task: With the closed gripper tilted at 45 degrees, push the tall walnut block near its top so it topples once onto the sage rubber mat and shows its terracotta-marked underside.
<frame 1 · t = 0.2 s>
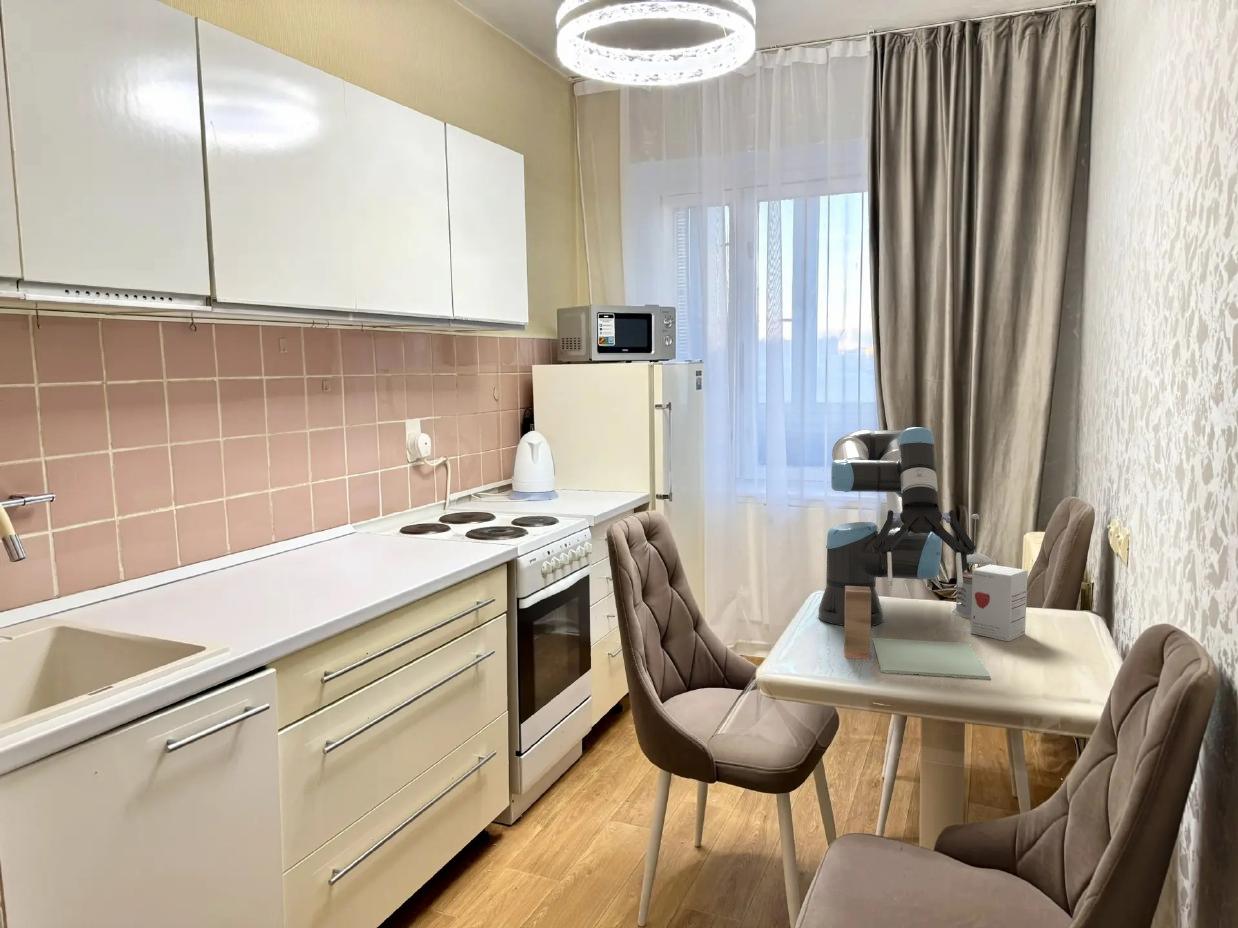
hand: (925, 584, 172), 15 cm above the table, tool tilted 35°, fingers open, 13 cm apart
supplement box: (997, 634, 190), on the table
french press: (974, 615, 207), on the table
walnut block: (856, 654, 176), on the table
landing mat: (927, 658, 173), on the table
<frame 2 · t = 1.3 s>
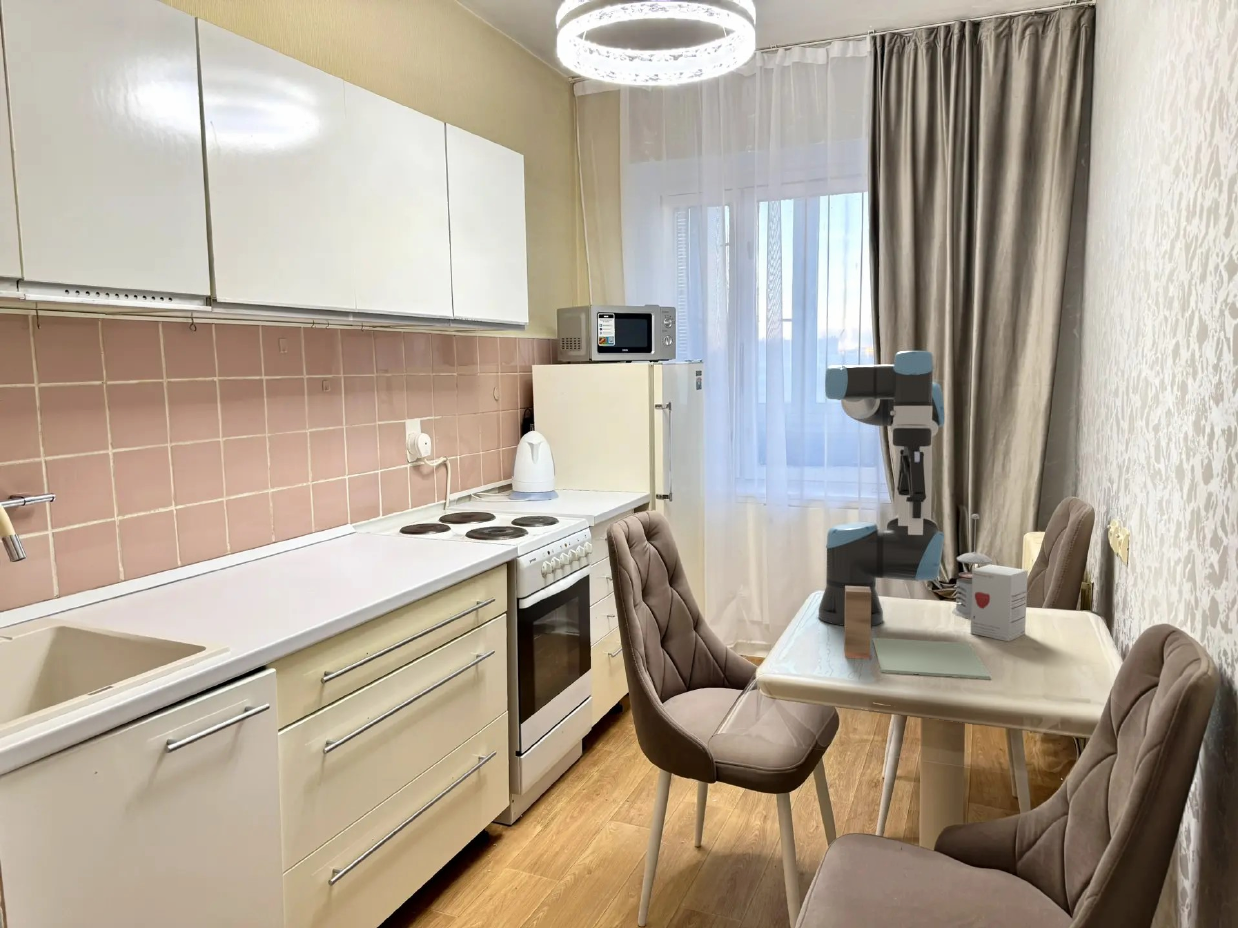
hand: (909, 530, 173), 26 cm above the table, tool pointing down, fingers open, 13 cm apart
nothing on the table moved.
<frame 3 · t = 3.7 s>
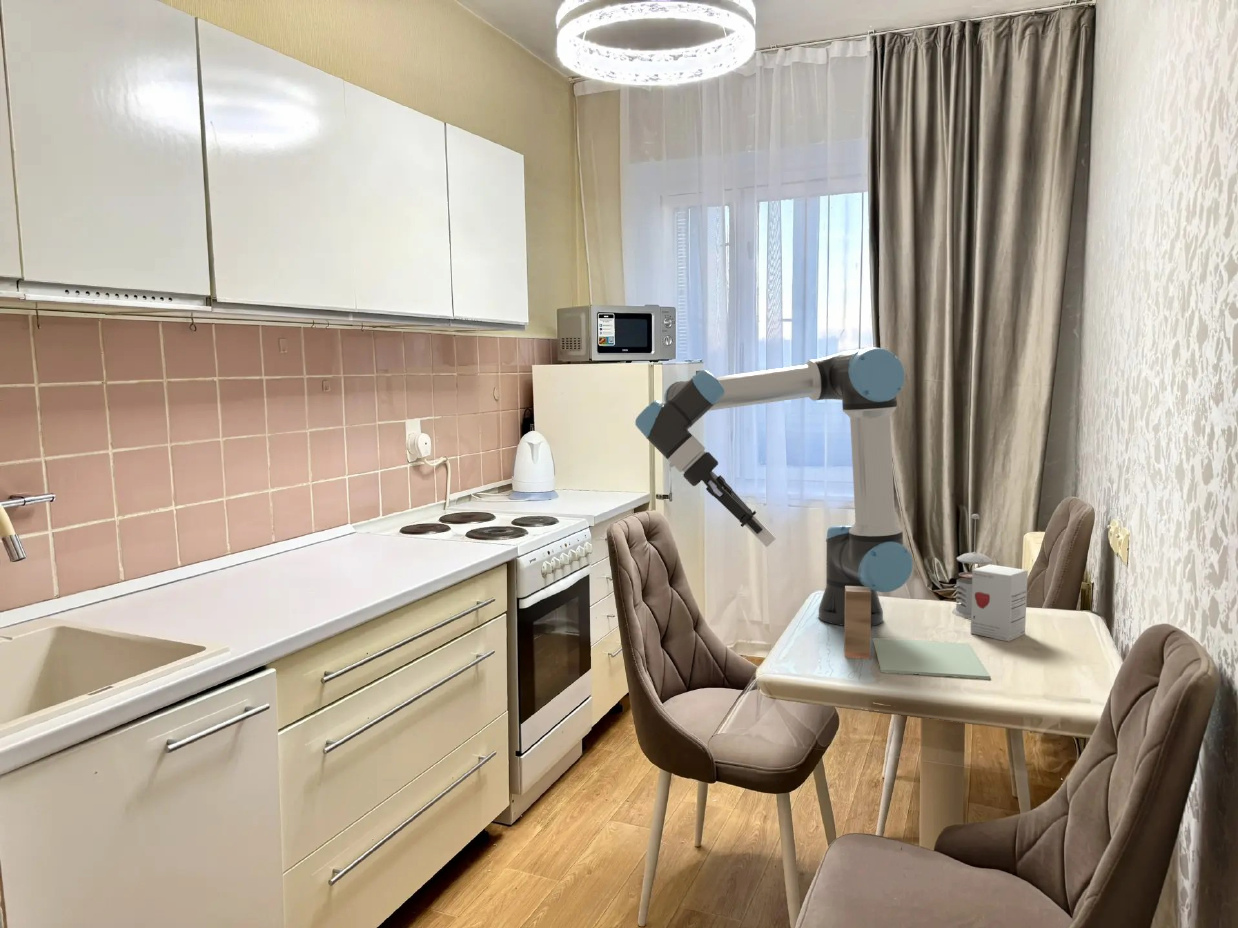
hand: (771, 542, 178), 23 cm above the table, tool tilted 45°, fingers closed
nothing on the table moved.
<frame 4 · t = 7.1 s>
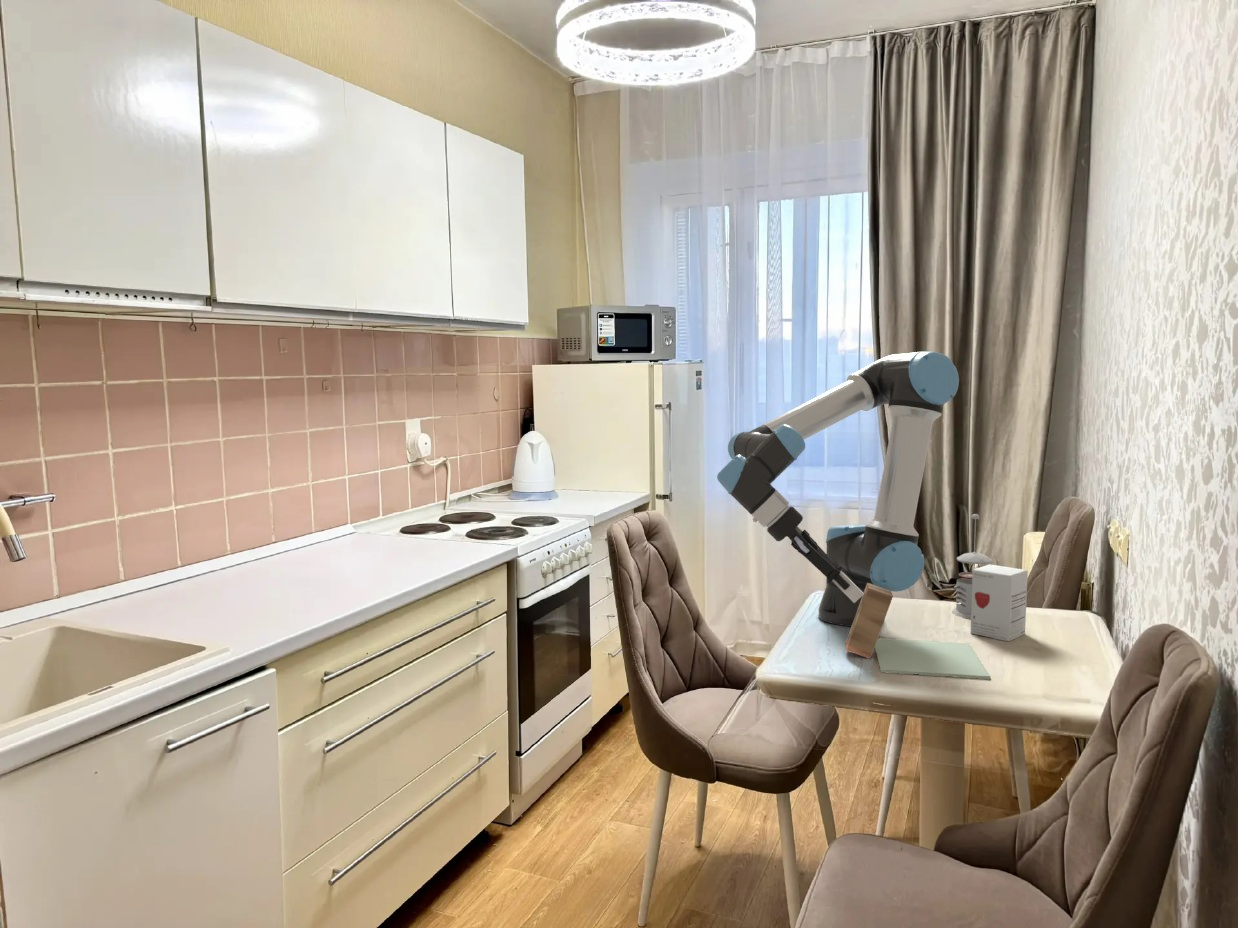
hand: (858, 597, 175), 12 cm above the table, tool tilted 45°, fingers closed
walnut block: (857, 650, 176), point 1 cm above the table, tilted 18°
everything else where it was.
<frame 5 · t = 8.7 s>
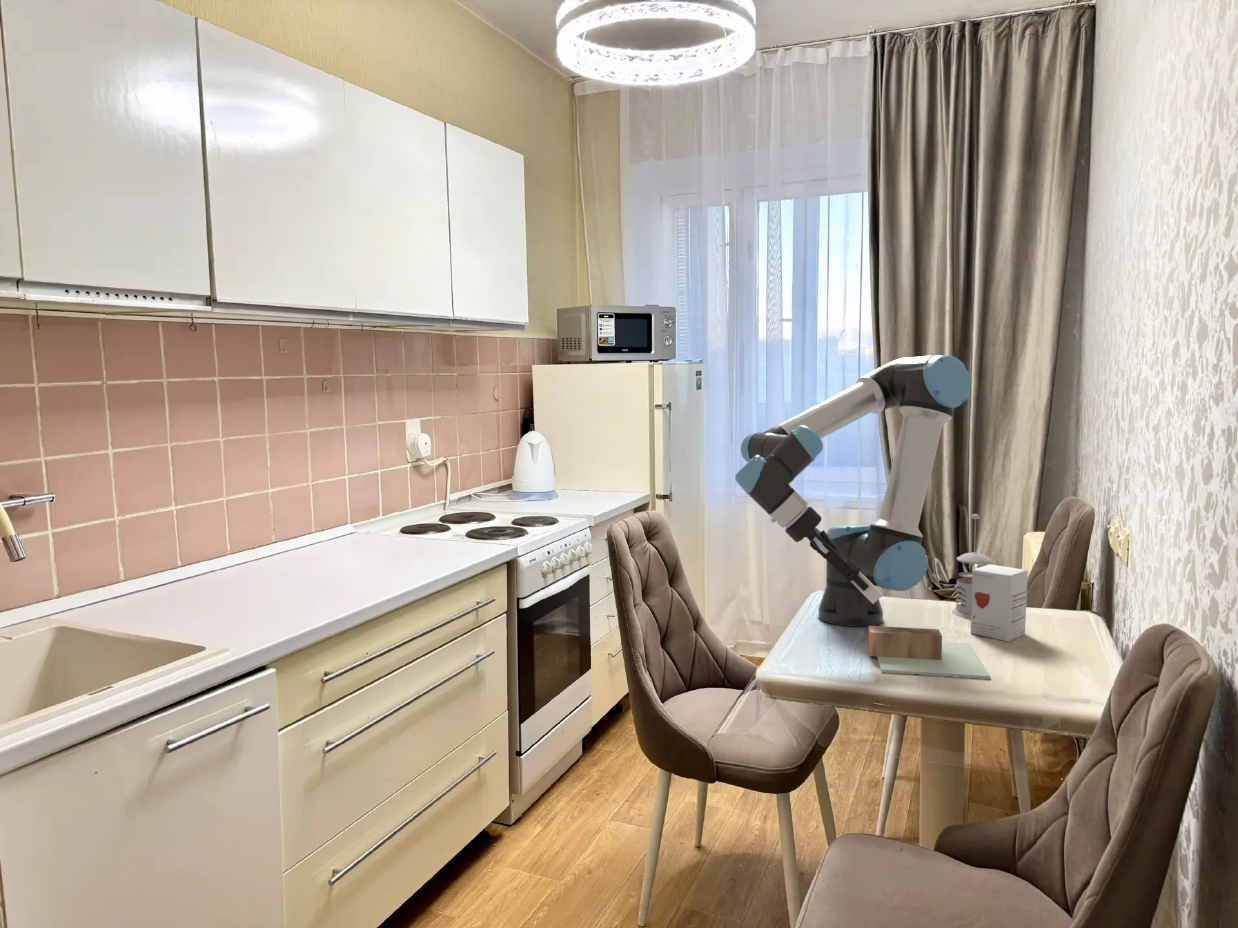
hand: (877, 598, 174), 12 cm above the table, tool tilted 45°, fingers closed
walnut block: (869, 640, 175), point 3 cm above the table, tilted 90°, touching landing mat
everything else where it was.
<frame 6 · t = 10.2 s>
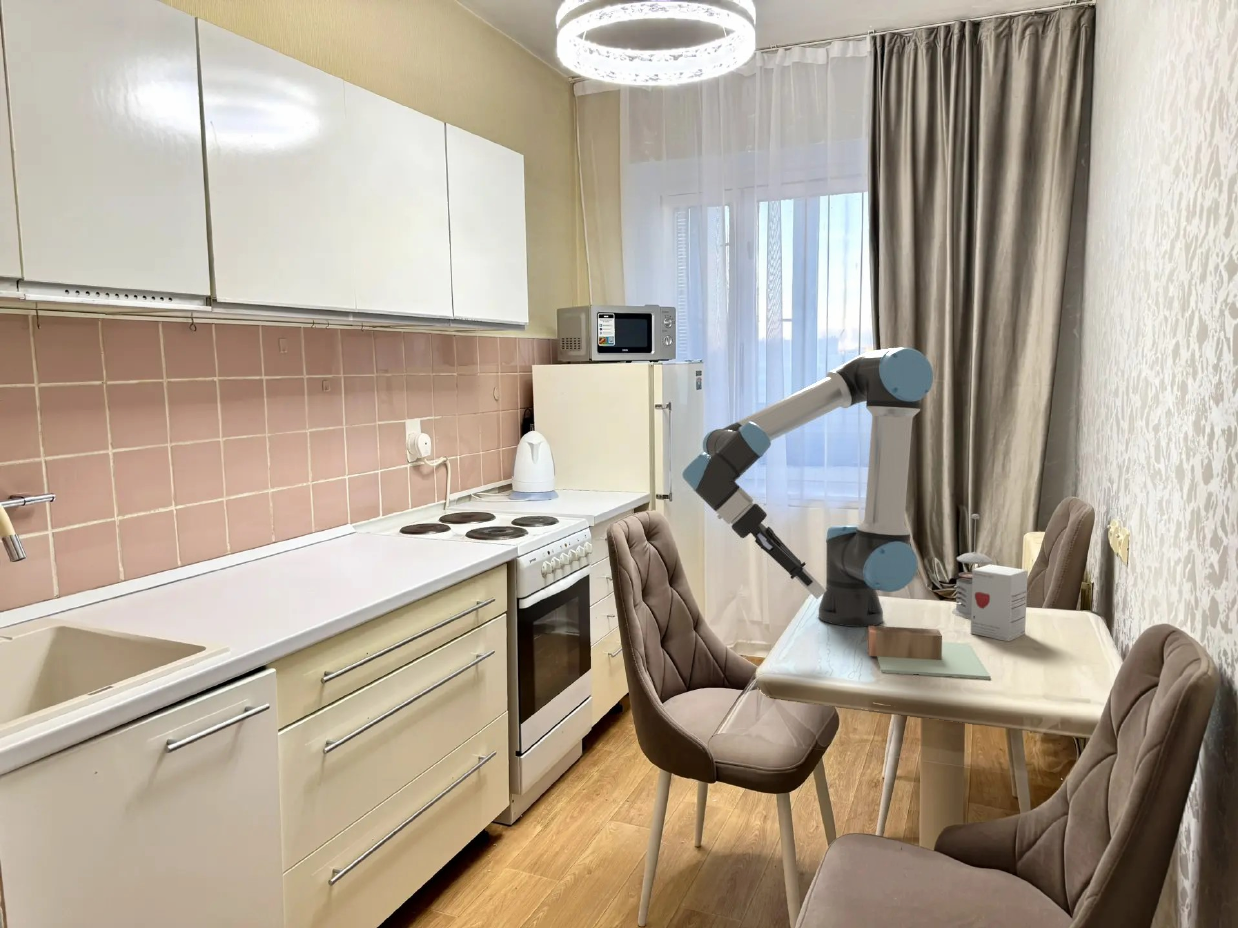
hand: (821, 594, 177), 13 cm above the table, tool tilted 45°, fingers closed
nothing on the table moved.
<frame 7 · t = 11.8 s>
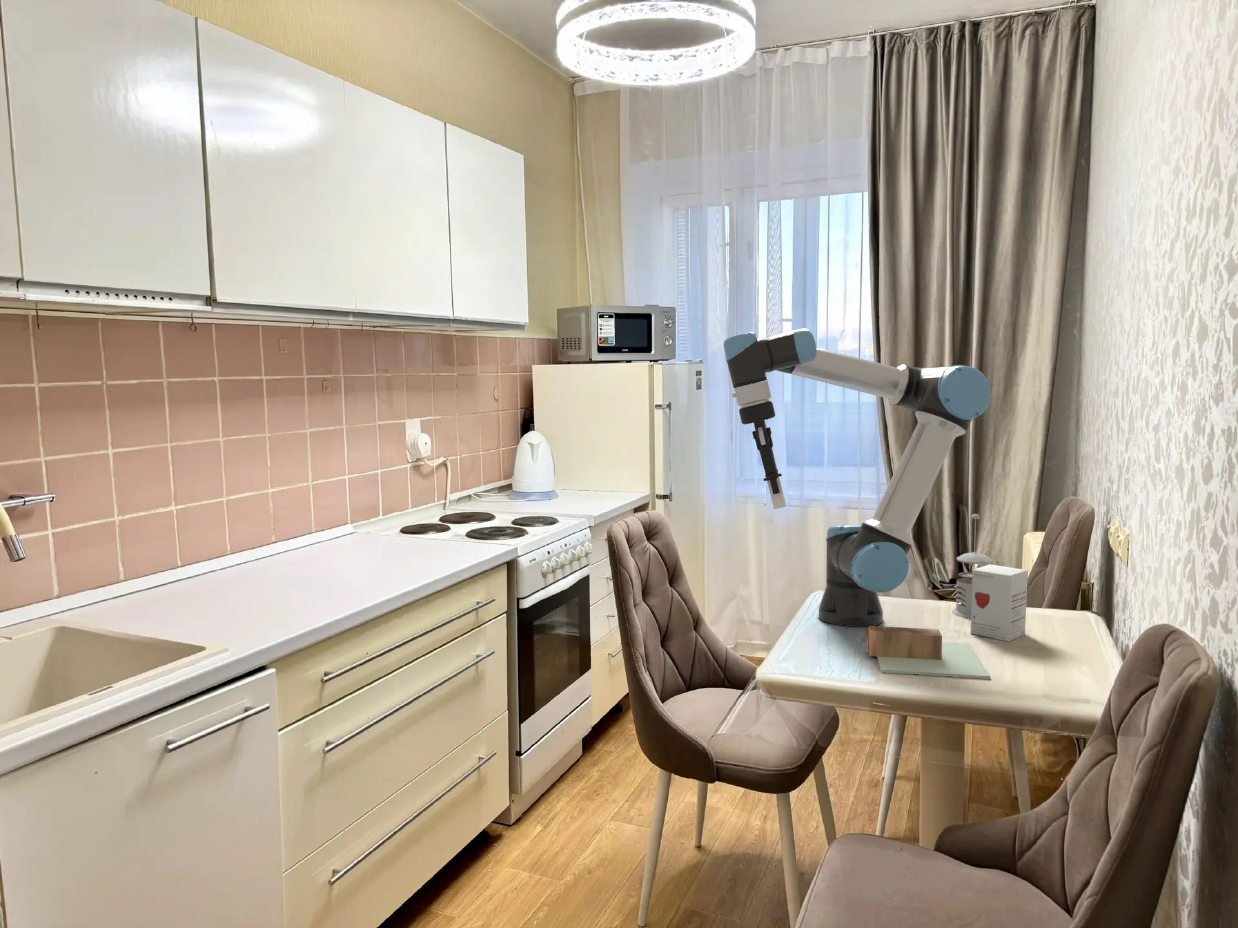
hand: (780, 507, 185), 30 cm above the table, tool pointing down, fingers closed
nothing on the table moved.
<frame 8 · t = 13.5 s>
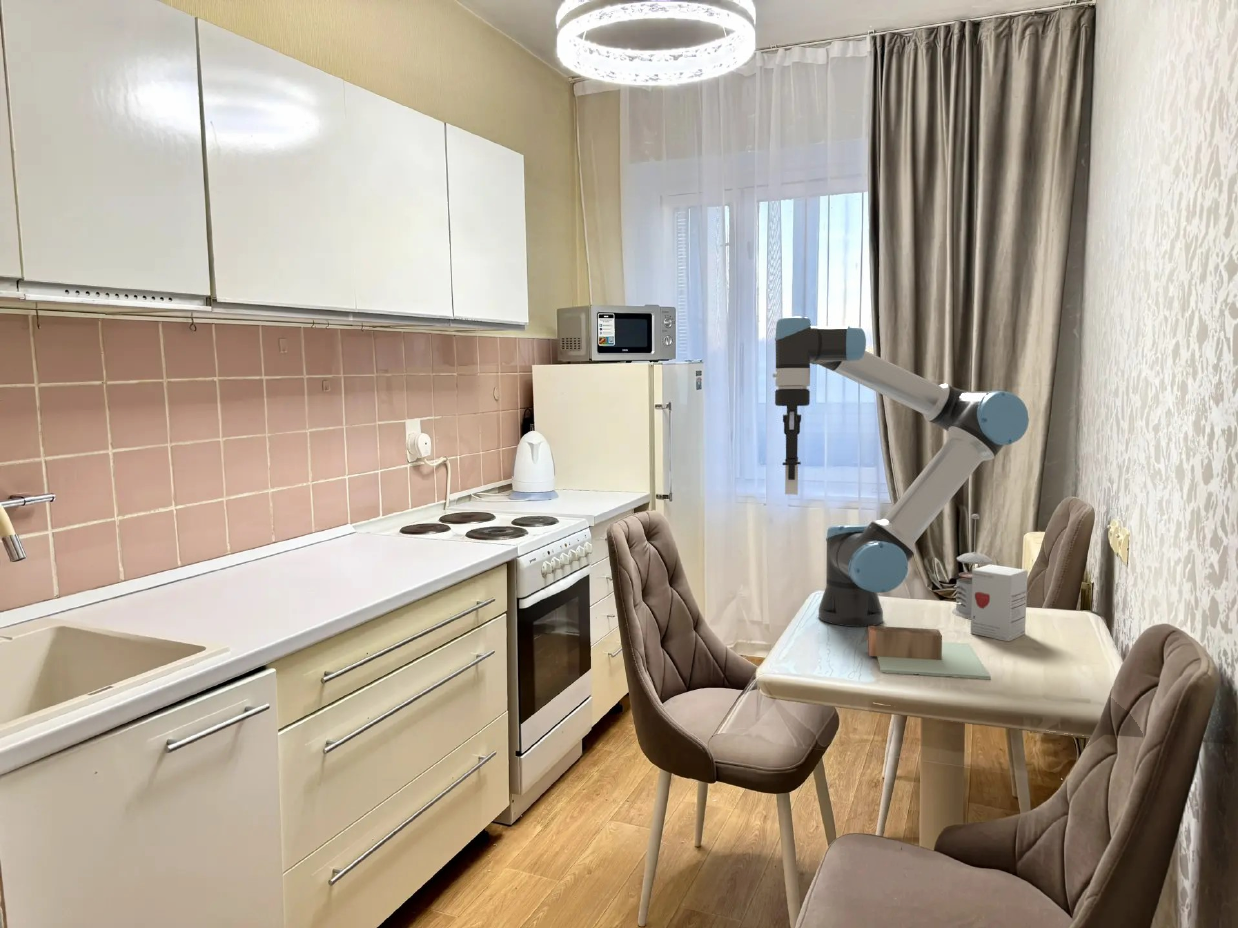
hand: (791, 493, 187), 32 cm above the table, tool pointing down, fingers closed
nothing on the table moved.
at the end: walnut block tilted 90°; walnut block touching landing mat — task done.
